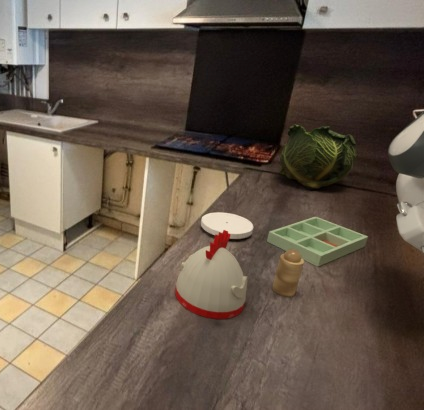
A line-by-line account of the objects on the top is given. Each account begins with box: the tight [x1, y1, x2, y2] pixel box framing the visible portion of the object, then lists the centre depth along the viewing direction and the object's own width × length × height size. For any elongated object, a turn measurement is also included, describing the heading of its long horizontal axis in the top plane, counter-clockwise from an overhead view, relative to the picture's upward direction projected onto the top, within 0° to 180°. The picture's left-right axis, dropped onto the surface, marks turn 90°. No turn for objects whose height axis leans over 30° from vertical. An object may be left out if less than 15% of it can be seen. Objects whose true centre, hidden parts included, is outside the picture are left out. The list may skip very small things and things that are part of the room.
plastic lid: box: [200, 211, 254, 240], centre depth 103 cm, size 14×14×2 cm
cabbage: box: [278, 124, 358, 191], centre depth 135 cm, size 25×24×23 cm
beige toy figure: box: [272, 249, 305, 297], centre depth 76 cm, size 4×4×10 cm
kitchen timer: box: [174, 230, 248, 320], centre depth 73 cm, size 14×14×15 cm
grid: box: [266, 216, 369, 268], centre depth 95 cm, size 14×21×3 cm
